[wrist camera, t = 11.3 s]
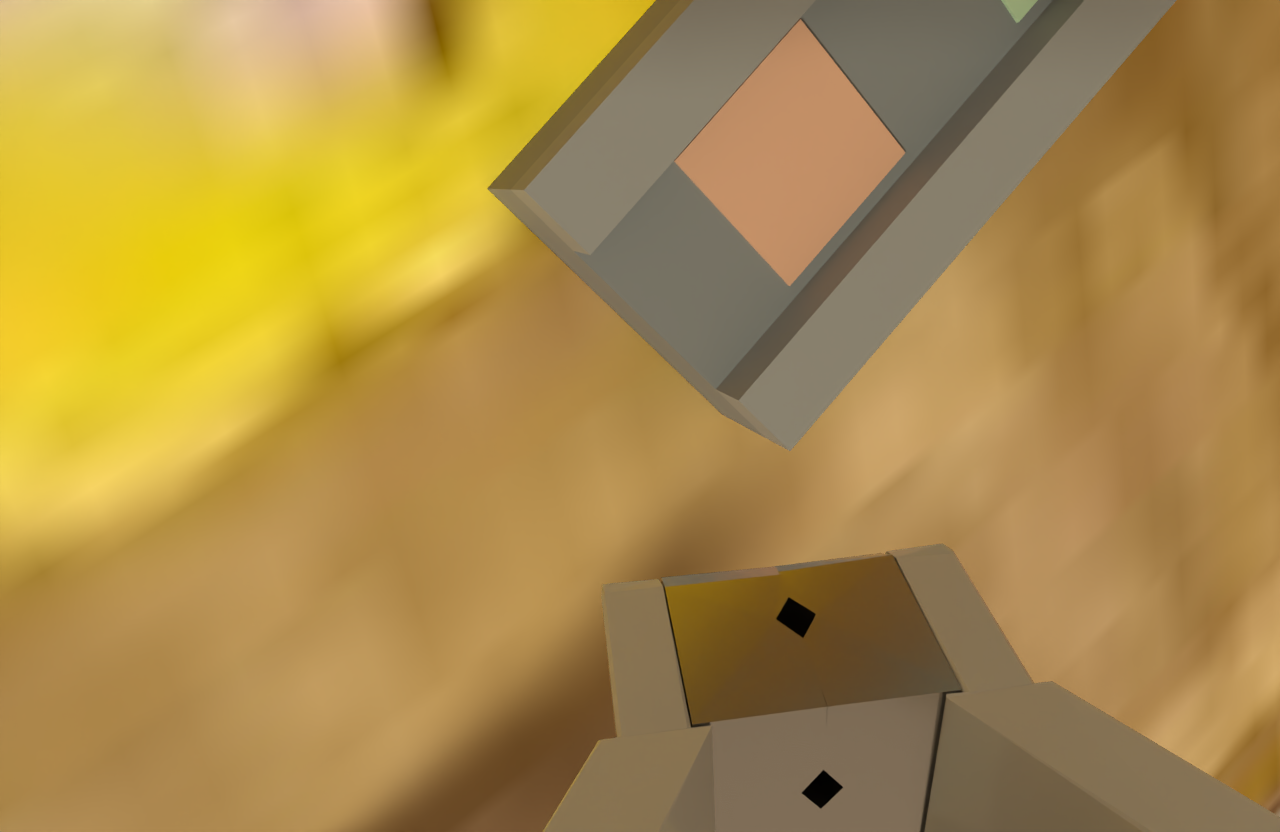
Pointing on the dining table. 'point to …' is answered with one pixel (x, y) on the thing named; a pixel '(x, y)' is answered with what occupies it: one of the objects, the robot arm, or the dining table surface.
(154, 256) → the dining table surface
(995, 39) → the switch panel
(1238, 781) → the dining table surface
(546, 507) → the dining table surface
